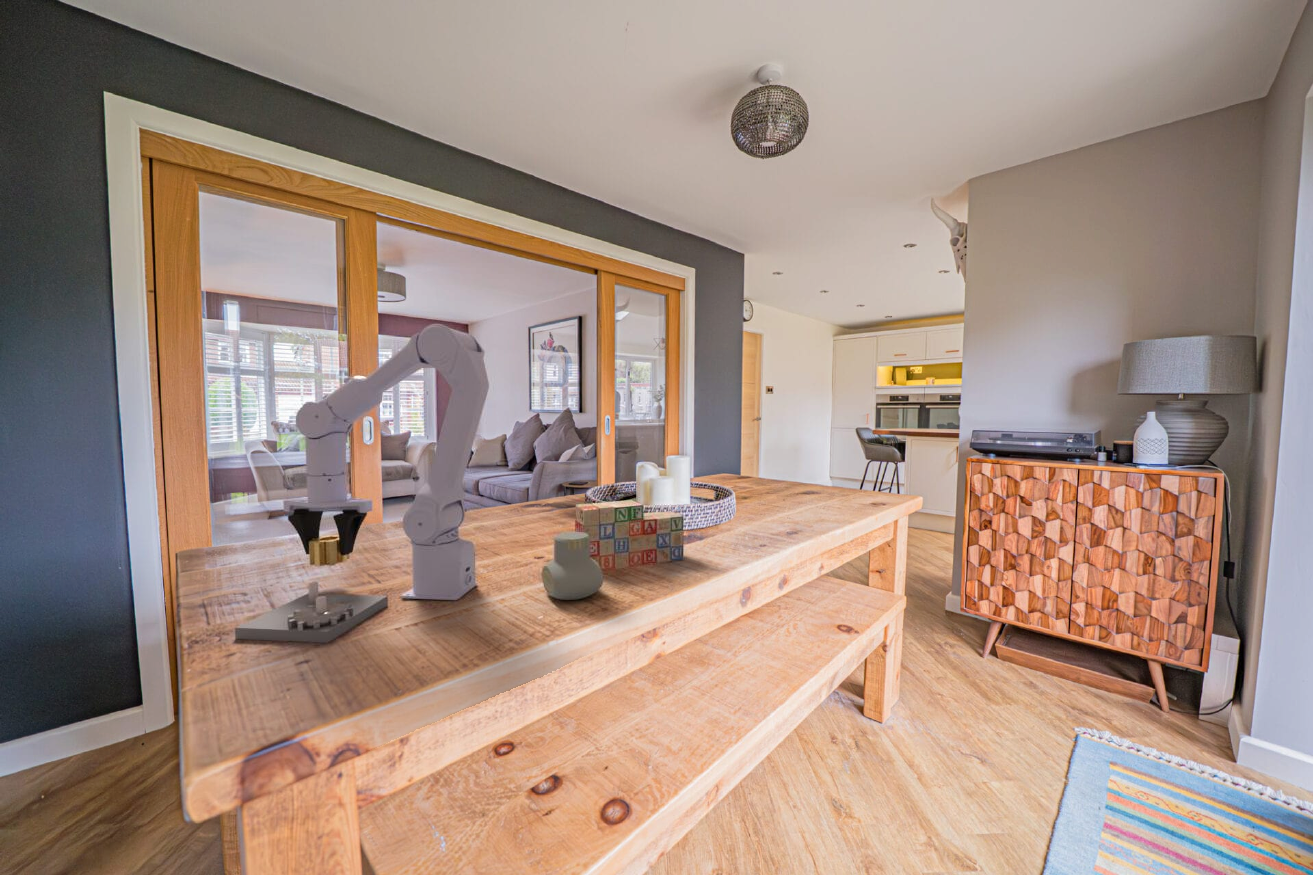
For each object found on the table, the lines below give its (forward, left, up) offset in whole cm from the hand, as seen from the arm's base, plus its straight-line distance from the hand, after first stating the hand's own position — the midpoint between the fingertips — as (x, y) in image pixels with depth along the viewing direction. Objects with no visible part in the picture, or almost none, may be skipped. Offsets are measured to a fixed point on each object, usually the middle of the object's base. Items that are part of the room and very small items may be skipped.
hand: (329, 553), depth 87 cm
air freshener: (-42, -1, -6) cm, 42 cm away
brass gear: (0, 0, -1) cm, 1 cm away
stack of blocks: (-49, -20, -6) cm, 54 cm away
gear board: (-8, +13, -6) cm, 16 cm away
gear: (-11, +16, -4) cm, 19 cm away
